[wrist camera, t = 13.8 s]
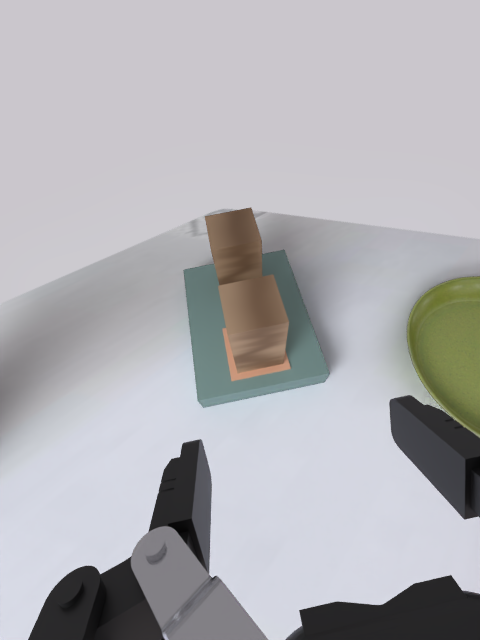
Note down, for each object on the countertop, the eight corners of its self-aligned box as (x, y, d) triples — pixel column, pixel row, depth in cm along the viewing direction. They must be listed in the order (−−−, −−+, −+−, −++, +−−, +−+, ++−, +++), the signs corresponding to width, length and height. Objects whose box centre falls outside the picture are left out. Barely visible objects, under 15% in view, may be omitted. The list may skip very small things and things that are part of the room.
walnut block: (237, 373, 30) (227, 335, 22) (229, 332, 33) (217, 285, 25) (283, 363, 30) (289, 322, 22) (271, 324, 33) (273, 274, 25)
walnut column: (223, 302, 35) (211, 250, 27) (217, 271, 38) (204, 216, 30) (262, 294, 35) (261, 240, 27) (254, 264, 38) (251, 207, 30)
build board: (203, 407, 32) (197, 400, 29) (188, 283, 41) (183, 268, 38) (324, 382, 32) (329, 372, 29) (283, 264, 41) (284, 248, 38)
